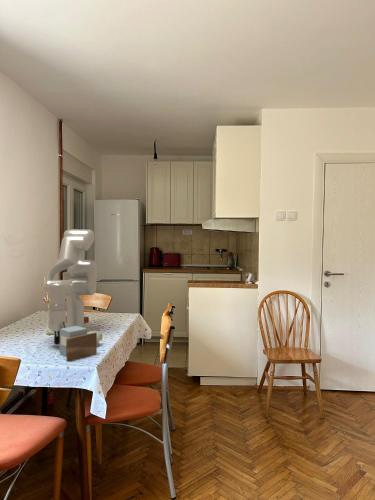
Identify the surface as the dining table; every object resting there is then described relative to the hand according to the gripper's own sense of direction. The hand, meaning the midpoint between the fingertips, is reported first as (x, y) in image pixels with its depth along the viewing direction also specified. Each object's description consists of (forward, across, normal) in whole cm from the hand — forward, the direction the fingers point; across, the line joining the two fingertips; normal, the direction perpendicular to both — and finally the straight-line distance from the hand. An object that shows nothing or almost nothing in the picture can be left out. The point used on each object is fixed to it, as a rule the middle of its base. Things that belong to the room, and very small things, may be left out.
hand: (58, 343), depth 183 cm
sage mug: (+2, +11, +14) cm, 18 cm away
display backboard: (+2, +23, -1) cm, 23 cm away
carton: (+4, -44, +36) cm, 57 cm away
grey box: (+2, +15, -1) cm, 16 cm away
